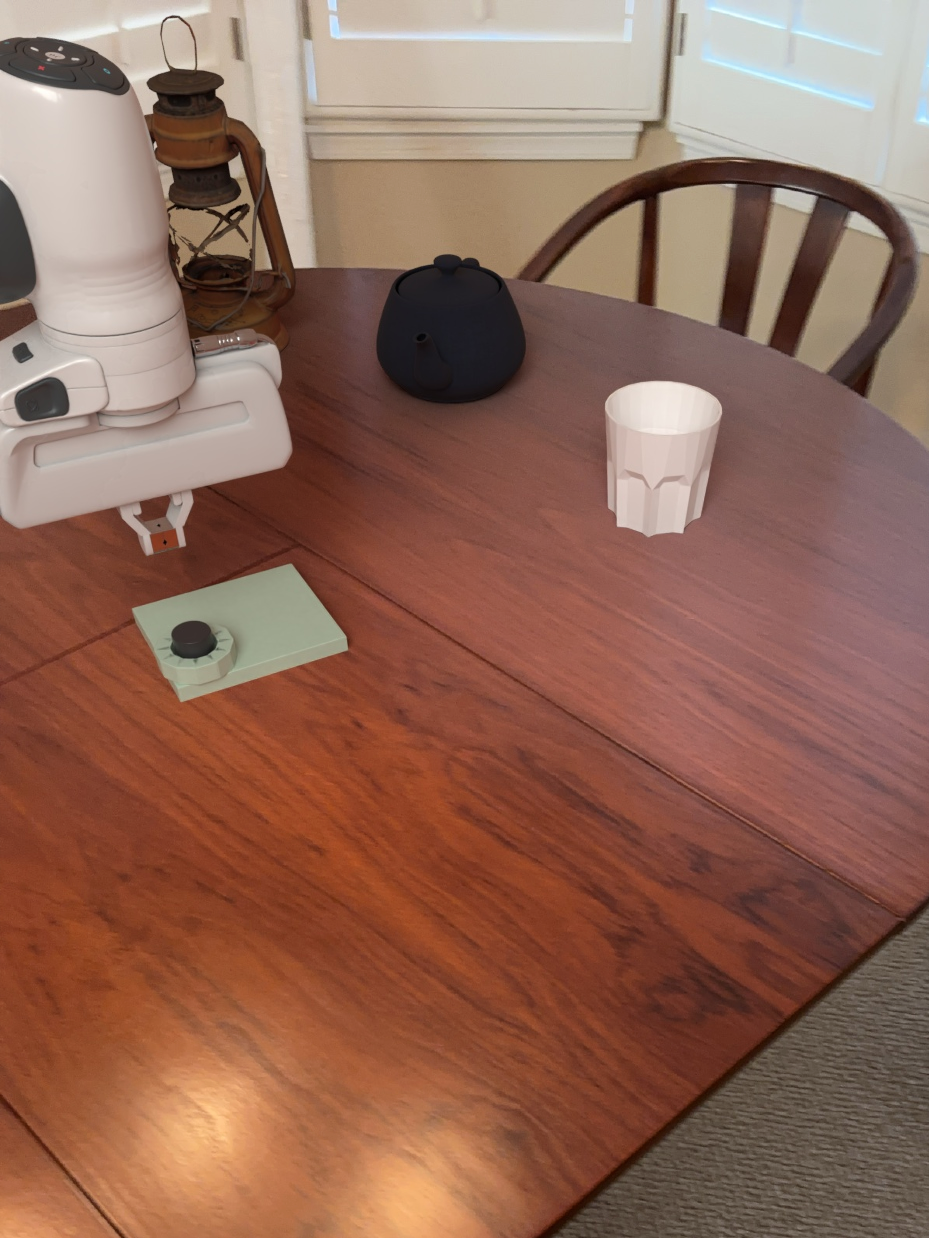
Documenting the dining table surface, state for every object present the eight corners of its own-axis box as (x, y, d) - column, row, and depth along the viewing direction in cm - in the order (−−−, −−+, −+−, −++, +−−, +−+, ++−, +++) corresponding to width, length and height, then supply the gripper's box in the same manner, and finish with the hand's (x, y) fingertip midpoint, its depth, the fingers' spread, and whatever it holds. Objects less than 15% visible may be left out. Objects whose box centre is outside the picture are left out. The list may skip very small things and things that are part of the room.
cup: (614, 547, 108) (621, 440, 101) (588, 490, 114) (593, 386, 107) (722, 535, 109) (737, 429, 102) (690, 479, 116) (702, 376, 108)
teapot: (408, 328, 138) (400, 209, 129) (543, 339, 136) (544, 219, 127) (347, 434, 122) (333, 307, 112) (500, 447, 120) (498, 319, 111)
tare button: (182, 664, 93) (178, 647, 91) (170, 643, 94) (165, 626, 93) (220, 653, 94) (216, 636, 92) (207, 632, 95) (203, 615, 94)
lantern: (319, 321, 139) (280, -2, 117) (289, 372, 131) (241, 35, 108) (176, 312, 141) (110, -8, 118) (138, 362, 132) (59, 28, 110)
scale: (177, 708, 93) (168, 676, 91) (130, 623, 100) (121, 592, 98) (350, 653, 98) (346, 622, 96) (293, 576, 105) (288, 545, 103)
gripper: (258, 304, 82) (284, 493, 93) (-54, 363, 76) (11, 560, 86) (293, 342, 79) (315, 534, 89) (-32, 407, 72) (33, 606, 82)
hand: (163, 547), depth 87 cm, fingers closed
